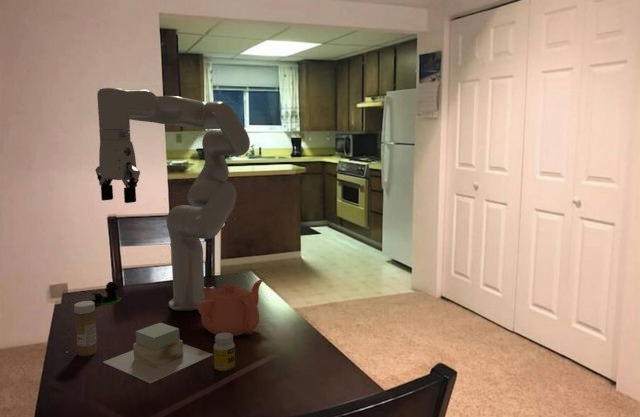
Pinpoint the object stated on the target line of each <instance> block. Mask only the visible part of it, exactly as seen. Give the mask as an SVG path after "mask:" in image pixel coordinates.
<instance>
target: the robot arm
mask: <svg viewBox="0 0 640 417" xmlns="http://www.w3.org/2000/svg"><path fill="white" fill-rule="evenodd" d="M96 96H97V112H98V126H99V127H98V128H99V131H98V132H99V152H98V155H99V156H98V158H99V159H98V162H99V163H98V164H99V165H98V166H97V167H96V168H95V173H96V176H97V177H96V178H97V181H99V182H98V183H99V186H100V192H101V193H100V195H101V201H112V200H114V192H113V191H114V188H113V184H112V182H113V181H122V184H123V185H124V187H123V199H124V203H125V204H132V203H136V202H137V193H136V188H137V187H138V182H139V179H140V174H141V170H139V169H138V167H137V161H136V160H137V159H136V153H135V148H134V145H133V142H132V141H131V124H130V121H139V122H145V123H154V124H161V125H168V126H177V127H185V128H191V129H199V130H209V131H207V132H205V134H204V136H203V137H202V140H201V142H202V143H201V144H202V150H203V155H204V165H203V168H202V169H201V171H200V172H199V174H198V176H197V177H196V179H195V180H194V181H193V183H192V185H191V186H190V188H189V190H188V192H187V201H188V203H189V204H190V205H188V204H187V205H186V204H183V205H181V204H180V205H177V206H174V207H172V208H171V209H170V210H169V212H168V214H167V217H166V228H167V231H168V235H169V240H170V247H171V248H170V249H171V250H170V251H171V268H172V269H171V270H172V272H171V273H172V290H173V291H172V292H173V293H172V294H173V296H172V297H173V298H172V299H171V300H169V302H168V307H169V308H170V309H171V310H174V311H180V312H181V311H182V312H183V311H184V312H185V311H195V310H197V311H198V308H197V305H198V303H199V302H201V301H204V300H205V295H204V291H203V288H206V287H207V286H205V274H204V273H205V271H204V248H203V244H202V242H201V239H203V240H204V239H205V240H210V239H213V238H215V237H216V236H217V235H218V234H219V233H220V232H221V229H223V226H224V225H225V223H226V221H227V219H228V218H229V217H230V215H231V213H232V211H233V210H234V207H235V204H236V201H237V189H236V187H235V185H234V184H232V183H231V182H230V181H227V180H228V179H229V178H228V177H229V174H230V173H229V171H230V170H229V166H228V164H227V161H226V157H241V156H244V155H245V154H247V153H248V151H249V150H250V147H251V146H250V144H251V142H250V137H249V134H248V132H247V130H246V129H245V127H244V126H243V123H242V122H241V121H240V120H241V119H239V116H238V115H237V114H236V113H235V111H234V110H233V108H232V107H231V106H230V105H229V104H228V103H227V102H224V101H202V100H197V99H192V98H187V97H181V96H178V95H177V96H175V95H158V96H157V95H156V94H155V93H154V92H152V91H150V90H148V89H140V88H139V89H124V88H119V87H118V88H117V87H105V88H104V87H103V88H99V90H98V91H97V95H96ZM209 288H211V290H215V289H216V287H215V286H211V287H209Z"/></svg>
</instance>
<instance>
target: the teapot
mask: <svg viewBox="0 0 640 417" xmlns="http://www.w3.org/2000/svg"><path fill="white" fill-rule="evenodd" d="M263 282H264V279H263V278H262V279H259V280H256V281H255V282H254V283H253V286H252V288H251V291H250V290H248V289H247V288H243V287H240V286H236V285H235V284H233V283H228V284H225V285H223V287H218V288H215V290H211V288H210V287H209V286H208V287H207V286H205V287H206V288H203V291H204V295H205V300H204V301H201V302H199V303H198V305H197V308H198V309H197V311H198V313H199V314H200V315H201V323H202V324H201V325H202V326H203V327H204V328H205V329H206V330H207V331H208V332H210V333H211V334H212V335H213V334H214V335H215V336H216V335H217V334H219V333H231V334H232V335H233V338H234V337H237V336H240V335H247V336H248V335H252V334H253V333H254V332H253V330H255V329H256V328H257V326H258V325H259V323H260V313H259V309H258V305H259V300H260V299H259V297H260V296H259V290H260V286H261V284H262V283H263Z"/></svg>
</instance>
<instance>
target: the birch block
mask: <svg viewBox="0 0 640 417" xmlns="http://www.w3.org/2000/svg"><path fill="white" fill-rule="evenodd" d="M183 344H184V342H183V340H182V339H180V341H178V342H175V343H173V344H170V345H168V346H165V347H163V348H160V349H158V350H152V349H149V348H147V347H144V346H141V345H139V344H136V342H134V343H132V348H133V349H132V350H134V360H136V361H138V362H141V363H143V364H145V365H148V366H150V367H153V368H155V369H156V368H158V367H160V366H163V365H165V364H167V363H170V362H172V361H174V360H176V359H179V358H181V357H183Z"/></svg>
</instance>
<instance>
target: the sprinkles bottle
mask: <svg viewBox="0 0 640 417" xmlns="http://www.w3.org/2000/svg"><path fill="white" fill-rule="evenodd" d="M73 310H74V314H75V330H76V333H75V334H76V345H77V355H78V356H80V357H88V356H89V357H90V356H92V355H95V354H96V353H97V352H98V350H97V348H98V347H97V341H98V340H97V328H96V327H97V326H96V317H95V316H96V314H95V310H96V305H95V303H94V302H93V301H92V300H83V301H79V302H76V303H75V304H74V305H73Z"/></svg>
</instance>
